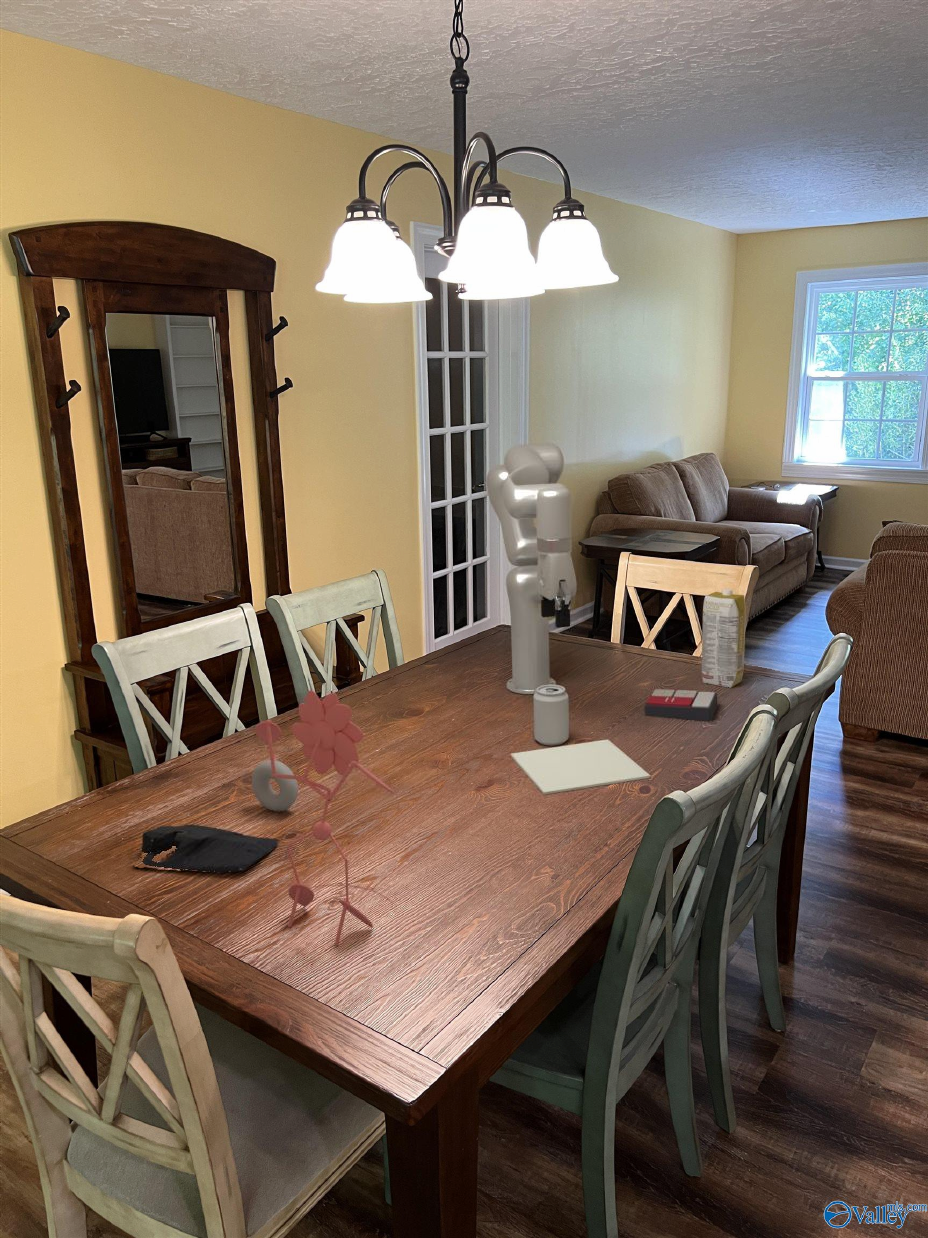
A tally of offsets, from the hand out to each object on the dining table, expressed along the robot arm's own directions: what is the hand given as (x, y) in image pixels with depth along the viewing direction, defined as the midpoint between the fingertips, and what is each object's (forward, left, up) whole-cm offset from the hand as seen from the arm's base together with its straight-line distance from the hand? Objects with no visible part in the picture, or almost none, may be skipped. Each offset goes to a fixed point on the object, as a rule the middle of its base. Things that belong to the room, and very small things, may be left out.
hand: (555, 621), depth 202 cm
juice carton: (-12, +49, -24) cm, 56 cm away
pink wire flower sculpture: (+62, -58, -24) cm, 88 cm away
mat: (+24, -5, -24) cm, 34 cm away
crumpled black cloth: (+36, -77, -25) cm, 89 cm away
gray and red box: (+3, +30, -25) cm, 39 cm away
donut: (+23, -65, -24) cm, 73 cm away
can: (+9, -5, -24) cm, 26 cm away
